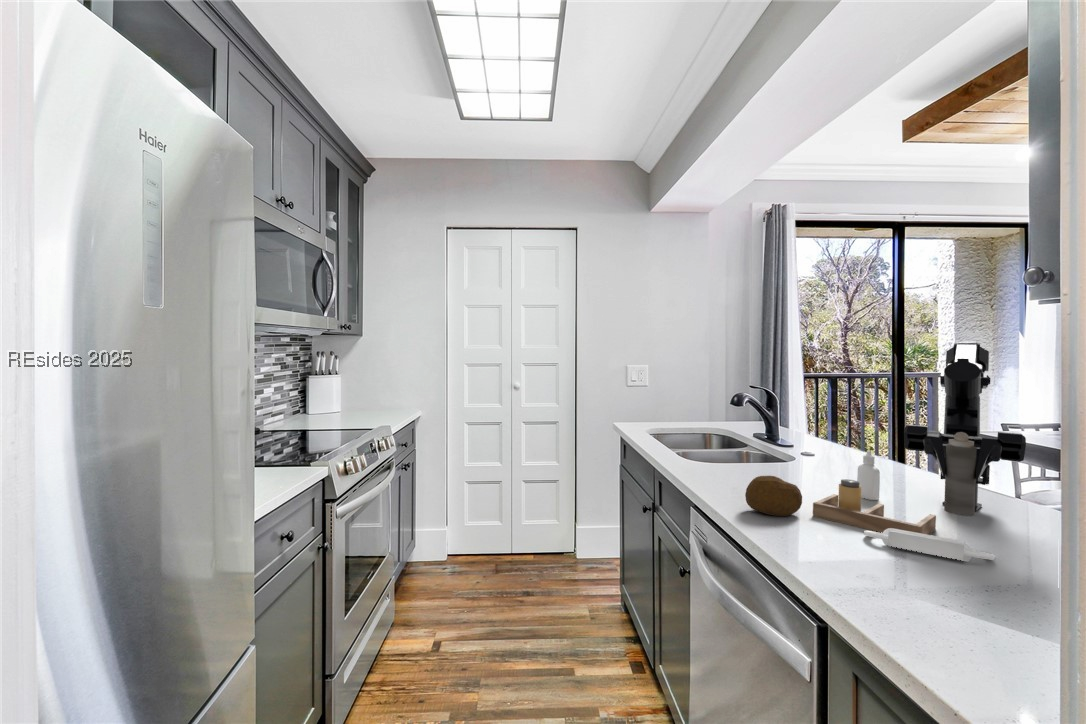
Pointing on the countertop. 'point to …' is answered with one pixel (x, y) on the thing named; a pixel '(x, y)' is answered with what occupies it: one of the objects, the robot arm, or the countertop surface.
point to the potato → (773, 496)
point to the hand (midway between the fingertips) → (960, 477)
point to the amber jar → (850, 495)
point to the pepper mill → (960, 476)
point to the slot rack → (869, 517)
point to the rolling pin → (929, 544)
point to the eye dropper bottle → (869, 478)
